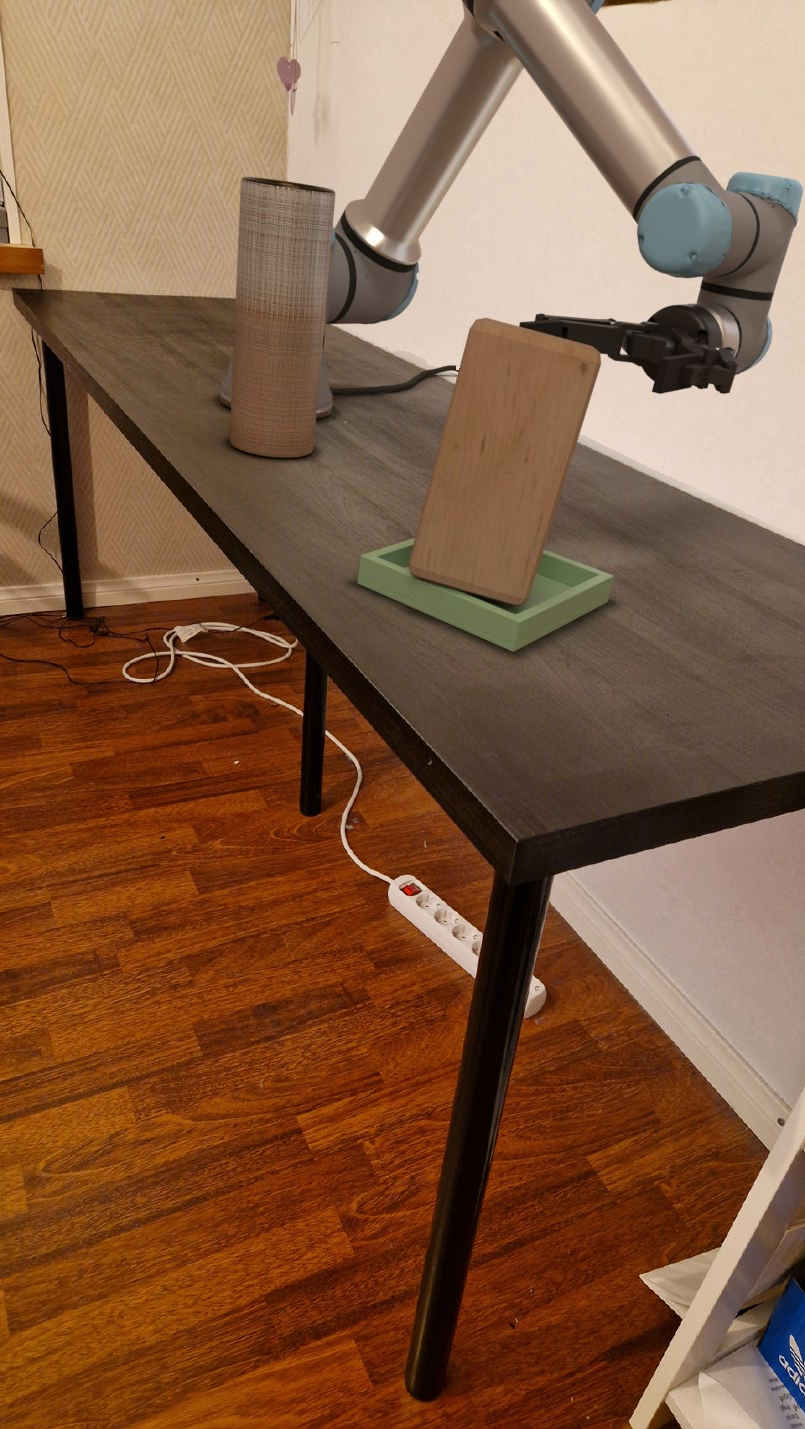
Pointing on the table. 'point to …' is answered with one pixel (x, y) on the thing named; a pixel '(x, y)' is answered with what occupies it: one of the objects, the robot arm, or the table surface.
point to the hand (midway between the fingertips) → (587, 356)
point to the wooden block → (503, 460)
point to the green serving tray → (551, 603)
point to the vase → (279, 315)
